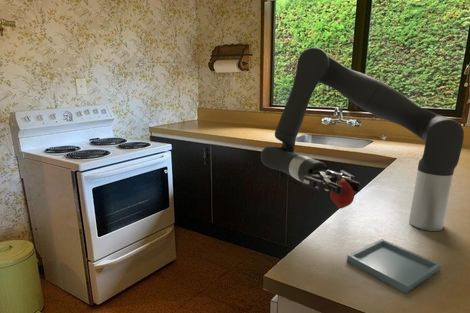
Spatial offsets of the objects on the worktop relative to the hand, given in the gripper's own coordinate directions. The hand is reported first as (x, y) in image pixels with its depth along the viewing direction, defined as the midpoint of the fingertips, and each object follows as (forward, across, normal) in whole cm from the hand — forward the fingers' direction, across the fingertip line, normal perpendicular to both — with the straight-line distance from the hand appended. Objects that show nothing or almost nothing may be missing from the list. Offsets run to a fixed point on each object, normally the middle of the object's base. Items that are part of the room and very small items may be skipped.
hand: (350, 189), depth 84 cm
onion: (-3, 0, +6) cm, 7 cm away
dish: (+10, +6, +17) cm, 21 cm away
